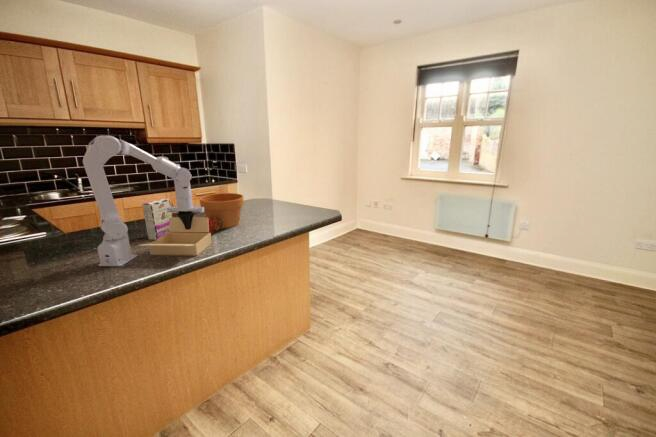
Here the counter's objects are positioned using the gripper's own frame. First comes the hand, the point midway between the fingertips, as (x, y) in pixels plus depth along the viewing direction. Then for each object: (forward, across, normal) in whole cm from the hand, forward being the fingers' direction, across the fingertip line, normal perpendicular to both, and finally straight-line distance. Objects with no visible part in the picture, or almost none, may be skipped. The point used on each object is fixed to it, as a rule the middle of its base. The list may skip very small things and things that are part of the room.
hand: (188, 228), depth 121 cm
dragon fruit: (+7, -3, -15) cm, 17 cm away
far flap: (-1, 0, -1) cm, 2 cm away
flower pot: (+7, -5, -28) cm, 29 cm away
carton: (+7, 0, +6) cm, 9 cm away
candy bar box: (+7, +17, -9) cm, 20 cm away
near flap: (+1, 0, +16) cm, 16 cm away
